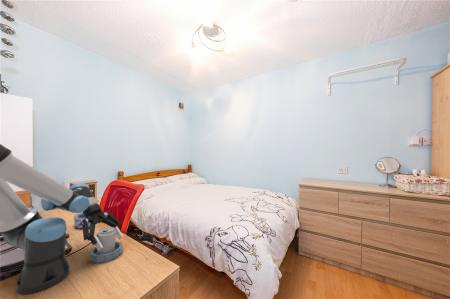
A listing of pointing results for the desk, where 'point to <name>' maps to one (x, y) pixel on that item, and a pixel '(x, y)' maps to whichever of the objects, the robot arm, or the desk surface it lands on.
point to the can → (107, 240)
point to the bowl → (106, 257)
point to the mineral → (79, 220)
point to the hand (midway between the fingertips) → (111, 243)
